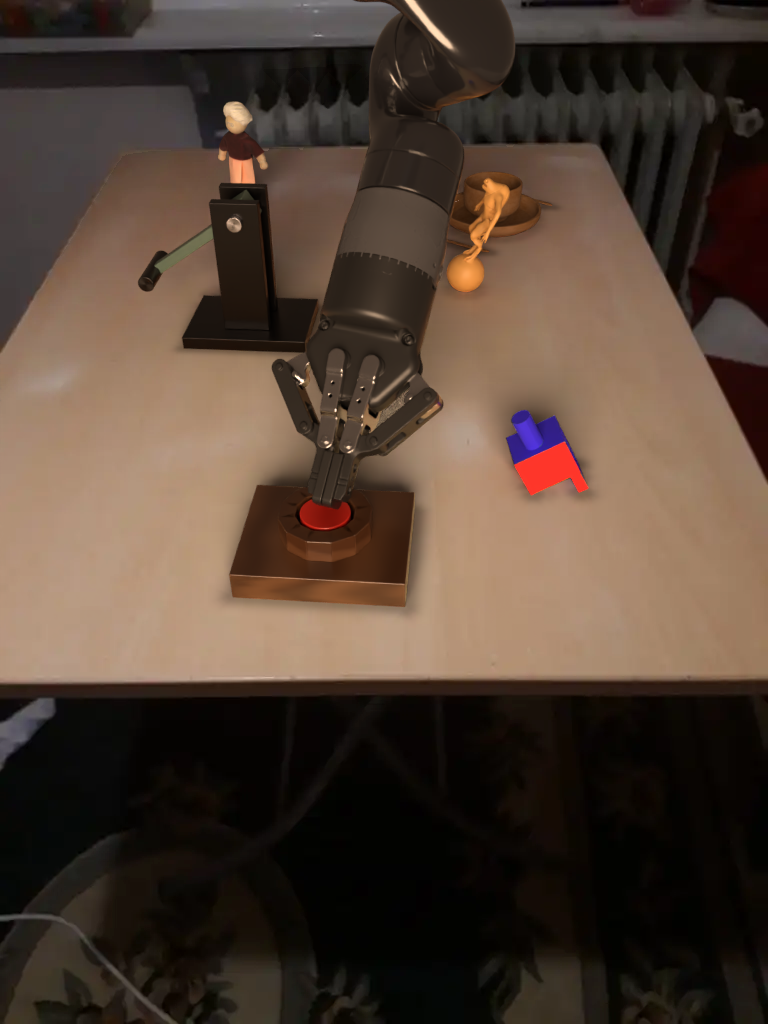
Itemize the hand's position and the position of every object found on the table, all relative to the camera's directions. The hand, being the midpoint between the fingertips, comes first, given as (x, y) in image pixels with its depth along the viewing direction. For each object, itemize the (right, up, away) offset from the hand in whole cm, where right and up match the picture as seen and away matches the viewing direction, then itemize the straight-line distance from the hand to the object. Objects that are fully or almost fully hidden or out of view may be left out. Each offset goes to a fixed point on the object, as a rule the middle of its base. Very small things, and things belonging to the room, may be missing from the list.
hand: (325, 505), depth 66 cm
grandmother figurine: (-13, +38, +54) cm, 67 cm away
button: (0, -2, +1) cm, 2 cm away
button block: (0, -3, +3) cm, 5 cm away
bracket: (-9, +18, +29) cm, 36 cm away
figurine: (+14, +23, +35) cm, 44 cm away
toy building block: (+17, +2, +10) cm, 19 cm away
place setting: (+13, +36, +51) cm, 64 cm away
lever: (-13, +25, +24) cm, 37 cm away
